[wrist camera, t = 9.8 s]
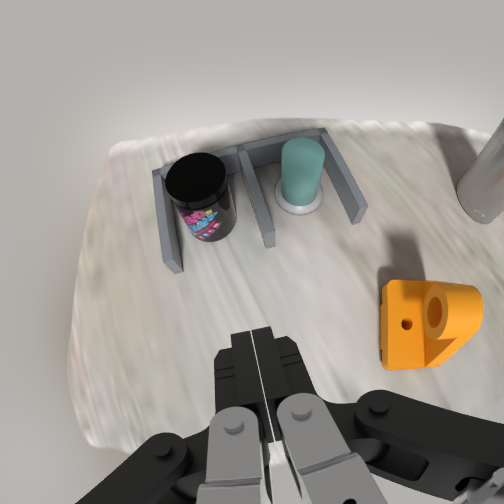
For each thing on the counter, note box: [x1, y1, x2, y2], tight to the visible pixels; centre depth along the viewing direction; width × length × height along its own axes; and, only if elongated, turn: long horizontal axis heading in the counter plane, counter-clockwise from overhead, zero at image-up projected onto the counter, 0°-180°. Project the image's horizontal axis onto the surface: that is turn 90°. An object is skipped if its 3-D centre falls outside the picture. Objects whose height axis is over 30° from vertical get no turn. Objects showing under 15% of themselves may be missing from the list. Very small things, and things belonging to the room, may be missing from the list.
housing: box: [152, 127, 368, 274], centre depth 36 cm, size 14×26×9 cm, turn 105°
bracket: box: [380, 280, 483, 370], centre depth 27 cm, size 11×7×12 cm, turn 175°
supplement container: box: [165, 153, 236, 242], centre depth 35 cm, size 7×7×10 cm
